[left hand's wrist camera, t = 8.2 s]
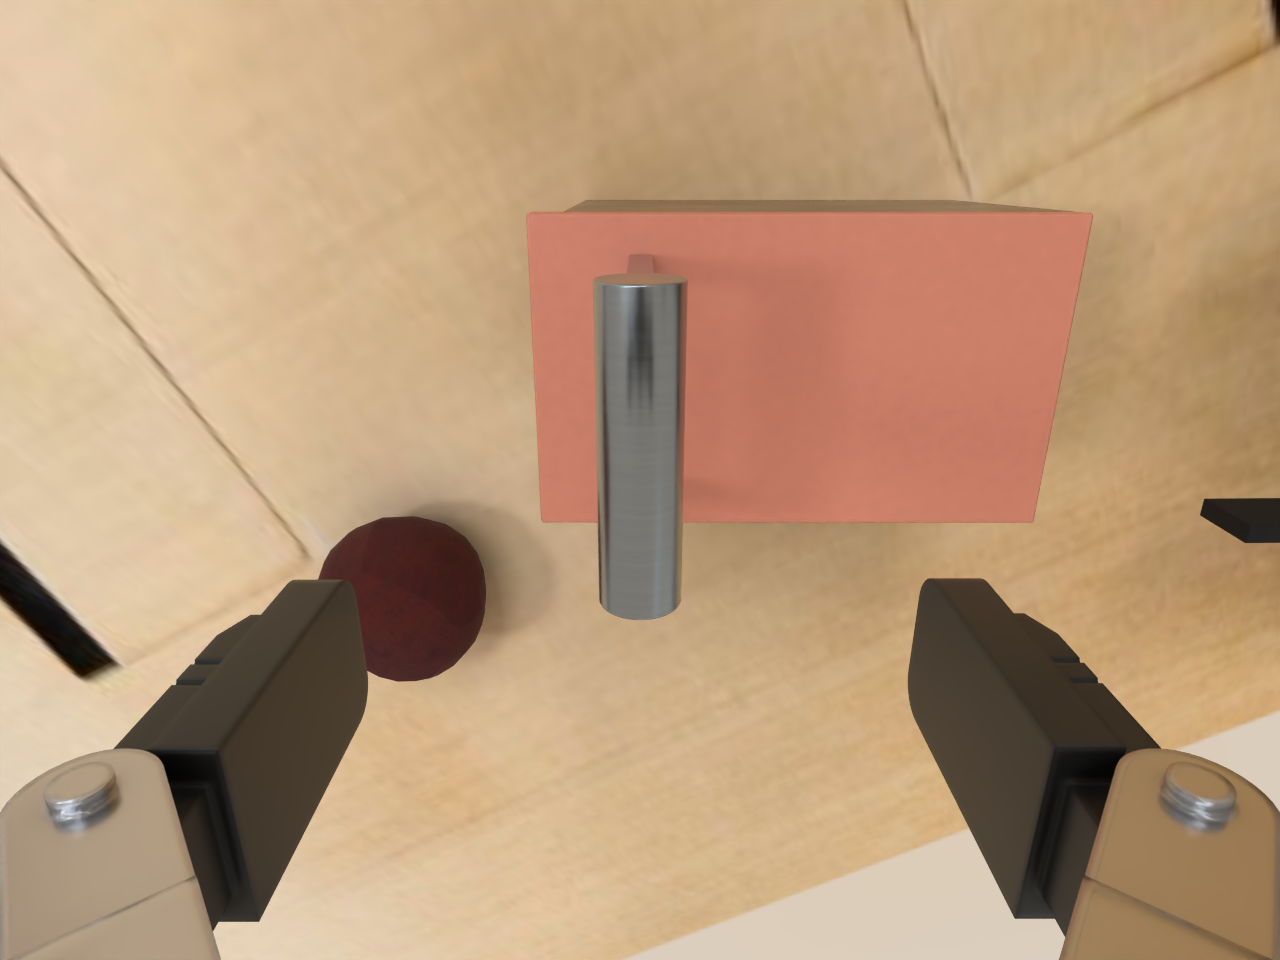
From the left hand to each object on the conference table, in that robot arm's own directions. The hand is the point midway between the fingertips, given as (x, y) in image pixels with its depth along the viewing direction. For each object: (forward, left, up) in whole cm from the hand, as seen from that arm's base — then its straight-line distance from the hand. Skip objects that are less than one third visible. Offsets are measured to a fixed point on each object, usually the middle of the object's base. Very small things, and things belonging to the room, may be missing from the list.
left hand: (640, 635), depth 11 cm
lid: (-3, +4, -16) cm, 17 cm away
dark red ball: (+16, 0, -26) cm, 31 cm away
